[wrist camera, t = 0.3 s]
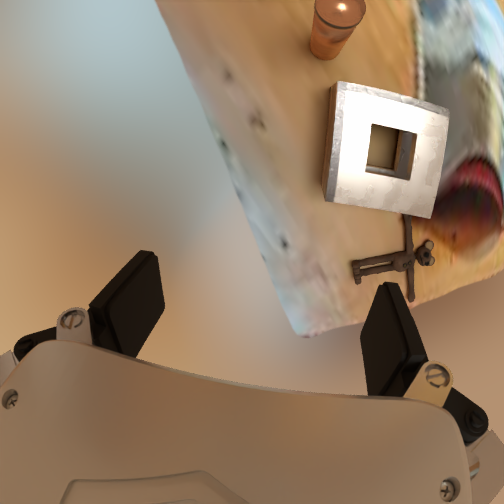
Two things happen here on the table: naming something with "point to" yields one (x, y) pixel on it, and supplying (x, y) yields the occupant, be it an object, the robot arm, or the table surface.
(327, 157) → the frame
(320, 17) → the tube
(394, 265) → the bear figurine
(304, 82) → the table surface
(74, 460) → the robot arm
